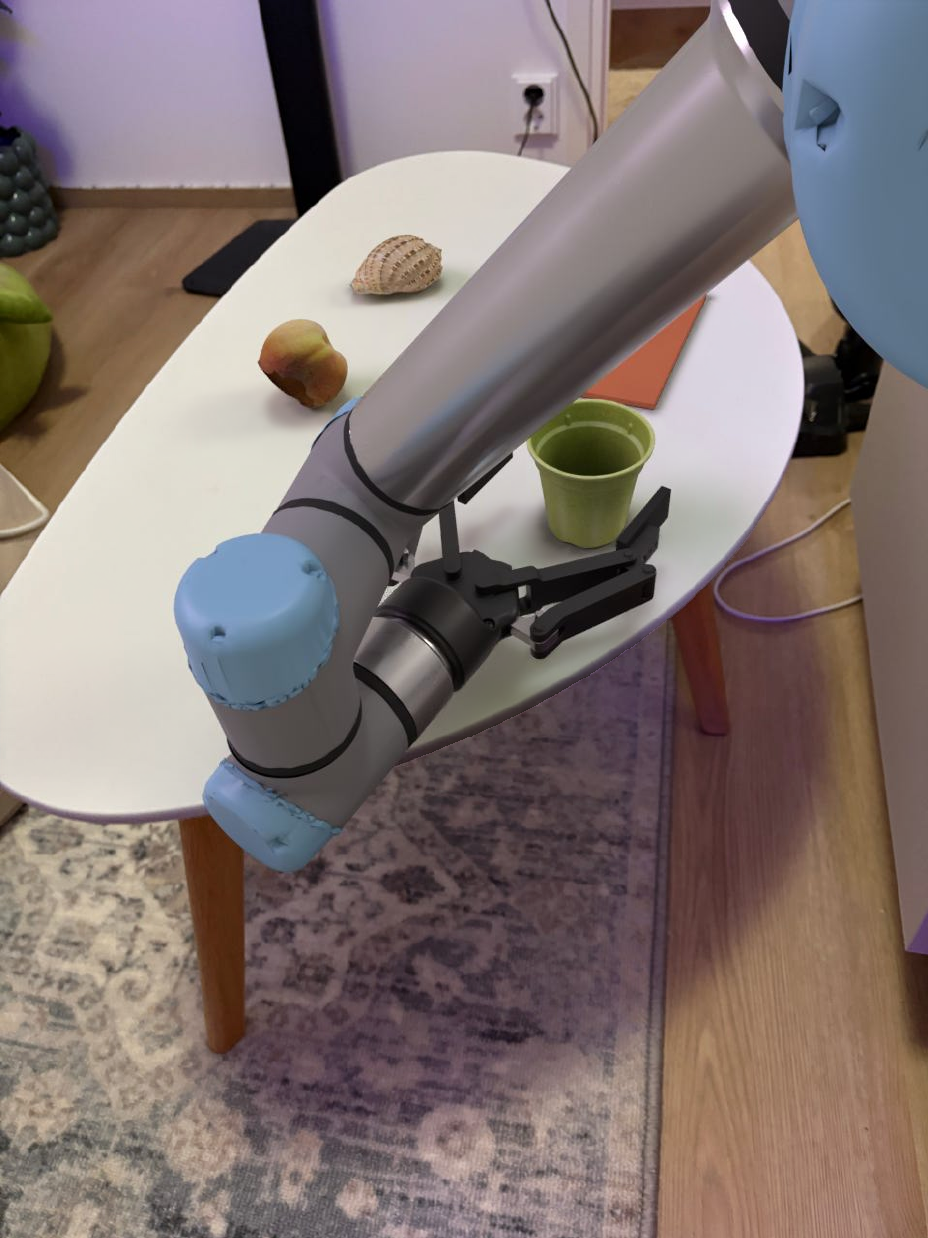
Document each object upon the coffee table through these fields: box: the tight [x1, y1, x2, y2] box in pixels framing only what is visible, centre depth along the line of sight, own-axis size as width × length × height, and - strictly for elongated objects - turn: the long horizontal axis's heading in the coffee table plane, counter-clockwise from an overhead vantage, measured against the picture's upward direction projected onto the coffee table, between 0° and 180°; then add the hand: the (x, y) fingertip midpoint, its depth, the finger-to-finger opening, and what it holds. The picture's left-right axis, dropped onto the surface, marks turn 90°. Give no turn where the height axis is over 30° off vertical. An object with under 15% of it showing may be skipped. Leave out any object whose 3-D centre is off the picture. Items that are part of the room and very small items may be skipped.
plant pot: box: [525, 398, 656, 549], centre depth 72 cm, size 9×9×9 cm
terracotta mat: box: [580, 293, 708, 410], centre depth 93 cm, size 20×20×1 cm
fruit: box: [257, 318, 349, 409], centre depth 86 cm, size 8×8×8 cm
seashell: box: [349, 234, 443, 296], centre depth 101 cm, size 8×6×10 cm
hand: (583, 470), depth 71 cm, fingers open, 13 cm apart
